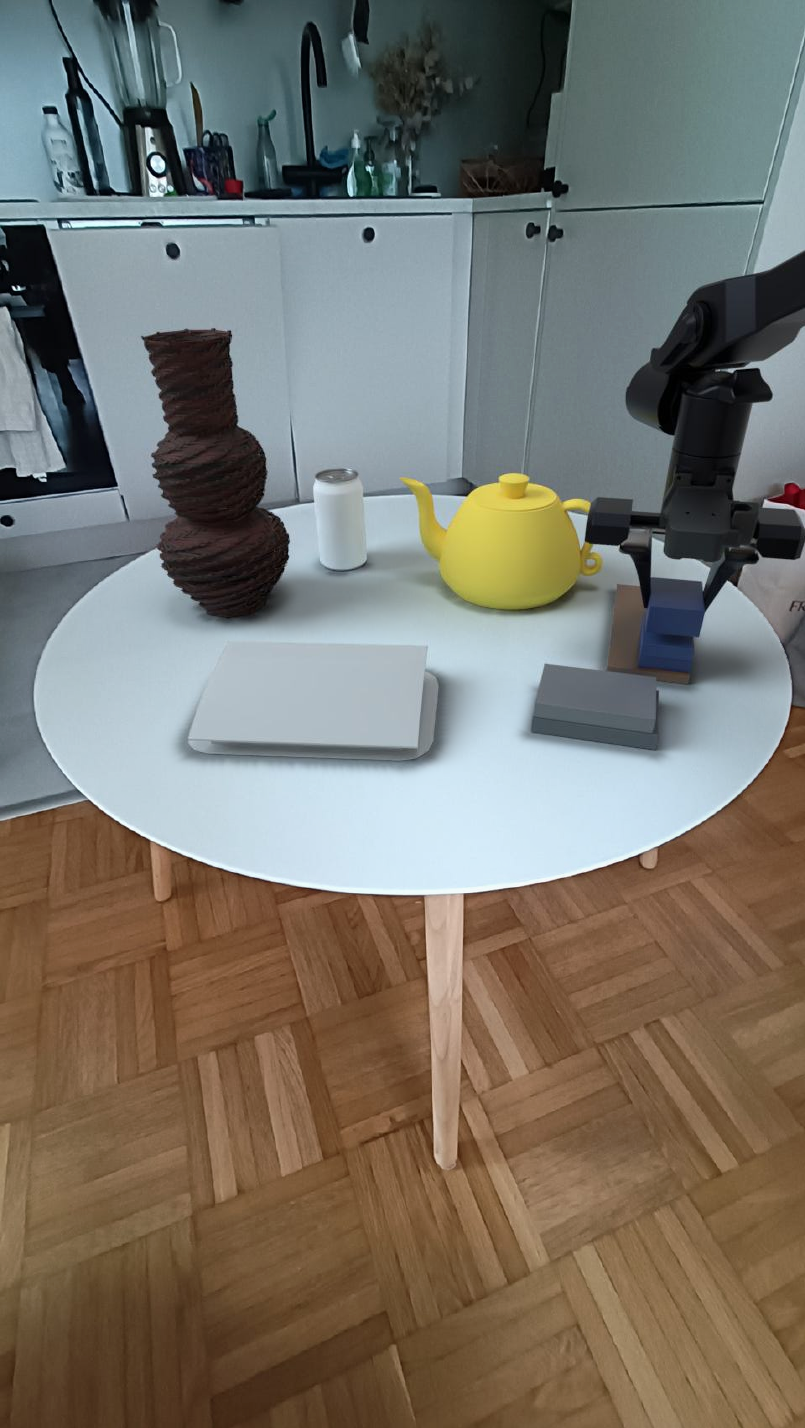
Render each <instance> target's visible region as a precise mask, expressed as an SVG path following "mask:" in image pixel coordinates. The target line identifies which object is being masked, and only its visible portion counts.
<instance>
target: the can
mask: <svg viewBox="0 0 805 1428" xmlns="http://www.w3.org/2000/svg"><path fill="white" fill-rule="evenodd" d="M314 478H315V481H314V483H313V487H312V493H313V501H314V502H313V505H314V513H315V524H316V535H317V543H318V551H319V552H318V553H319V561H320V563H321V565H323V567H324V568H326V569H328V570H331V571H336V572H344V571H346V572H347V571H353V570H356V569H359V568H360V567H362V566H363V565H364V564H365V563H366V562H367V559H368V551H367V550H368V549H367V534H366V517H365V502H364V489H363V484H362V482H361V479H360V478H359V472H358V471H357V470H355V469H351V468H345V467H333V468H327V469H323V470H320V471H318V472H316V473H315V474H314Z"/></svg>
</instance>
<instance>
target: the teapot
mask: <svg viewBox="0 0 805 1428" xmlns="http://www.w3.org/2000/svg"><path fill="white" fill-rule="evenodd" d="M399 480H400V481H401V482H402V483H403V484H404V485H405V486H406V487H408V489H409V490H411V492H412V493H413V496H414V497H415V500H416V503H417V509H418V526H419V528H418V529H419V534H420V539H421V543H422V545H423V548H424V549H425V551H426V552H427V553H428V554H429V556H430V557H432V558H433V559H434V560H435V561H436V562H438V572H439V573H440V576H441V578H442V580H443V581H444V582H445V584H446V585H447V586H448V587H449V588H450V589H451V590H452V591H453V592H454V594H455V595H457V596H458V597H460V599H462V600H463V601H466V602H469V603H470V604H473V605H476V606H479V607H484V608H489V609H494V610H495V609H496V610H511V611H512V610H514V611H515V610H528V609H534V608H538V607H543V606H545V605H549V604H551V603H553V602H555V601H556V600H558V599H559V598H560V597H562V596H563V595H564V594H565V593H567V592H568V591H569V590H570V589H571V588H572V587H573V586H574V585H576V582H577V581H578V579H579V577H580V575H582V576H585V577H592V576H594V575H597V574H598V573H600V571H601V570H602V568H603V563H604V561H603V557H602V555H601V554H600V553H598V552H595V551H592V548H593V546H594V544H589V543H587V542H585V541H584V542H583V545H582V546H581V544H580V540H579V536H578V533H577V530H576V527H575V525H574V522H573V520H572V518H571V517H570V515H569V512H568V511H575V510H576V511H582V512H585V513H587V514H588V513H589V509H590V505H591V503H592V502H590V501H588V500H586V499H582V498H572V499H568V500H565V501H563V502H562V500H561V498H560V496H559V495H558V494H557V493H556V492H555V491H553V489H551V488H549V487H547V486H544V485H540V484H536V483H531V482H530V477H529V476H528V475H526V474H524V473H517V472H512V473H505V474H502V475H500V476H499V477H498V482H493V483H489V484H484V485H481V486H479V487H477V488H474V489H473V490H472V491H471V492H470V493H468V495H467V496H466V498H465V499H464V500H463V502H462V504H461V505H460V507H459V508H458V509H457V511H456V513H455V514H454V516H453V518H452V519H451V521H450V523H449V525H448V527H447V529H446V528H444V527H443V526H442V525H441V524H440V523H439V522H438V520H437V518H436V515H435V505H434V499H433V495H432V492H431V490H430V489H429V487H428V486H427V485H426V484H424V483H422V482H420V481H419V480H416V479H412V478H408V477H402V476H401V477H399ZM588 560H593V561H594V562H595V563H594V564H593V565H588V564H587V561H588Z"/></svg>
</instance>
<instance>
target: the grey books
mask: <svg viewBox="0 0 805 1428" xmlns="http://www.w3.org/2000/svg"><path fill="white" fill-rule="evenodd" d="M659 712H660V690H659V689H657V680H656V677H650V676H642V675H634V674H626V673H618V672H609V671H606V670H600V669H593V668H592V669H591V668H584V667H576V666H568V665H561V664H560V665H559V664H553V663H552V664H551V663H544V665H543V669H542V673H541V677H540V681H539V685H538V688H537V692H536V696H535V700H534V707H533V712H532V717H531V725H530V732H531V733H535V734H544V735H551V736H556V737H564V738H569V739H570V738H571V739H578V740H584V741H585V740H586V741H591V742H598V743H605V744H611V745H617V746H618V745H619V746H624V747H631V748H632V747H633V748H638V749H647V750H654V751H656V750H657V745H658V741H659V733H660V731H659V727H660V726H659V725H660V724H659V723H660V713H659Z"/></svg>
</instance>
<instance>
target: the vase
mask: <svg viewBox="0 0 805 1428" xmlns="http://www.w3.org/2000/svg"><path fill="white" fill-rule="evenodd" d="M140 339H141V340H142V341H143V346H144V348H145V350H146V351H147V353H148V360H149V362H150V364H151V365H152V366H153V368H152V370H151V371H150V373H151V375H152V376H153V377H154V378H155V380H154V382H155V385H156V387H157V388H158V389H159V390H160V391H159V393H158V395H157V396H158V399H159V400H160V401H161V409H162V411H163V413H164V415H162V418H163V421H164V422H165V423H166V424H167V425H168V426H167V432H166V433H165V435H164V438H163V439H162V440H159V441H158V442H157V443H156V447H157V449H156V450H155V451H154V452H152V453H151V454H150V458H153V460H154V461H153V462H151V467H152V468H153V469H155V470H156V471H155V473H152V478H153V479H155V480H157V481H158V482H159V484H158V485H157V488H159V489H160V490H161V491H162V493H161V494H160V497H161V498H162V499H164V500H166V501H168V502H169V504H168V503H167V506H168V507H169V508H170V509H172V510H174V511H175V512H174V515H175V516H177V517H176V518H175V519H173V520H171V521H168V522H167V523H165V524H164V529H165V531H164V532H161V533H160V534H159V539H160V542H158V544H156V549H157V550H158V551H159V552H160V553H159V559H160V560H161V561H162V562H161V566H160V567H161V568H162V569H163V570H164V571H166V576H167V577H168V578H170V579H171V580H172V584H173V586H174V587H176V588H179V589H180V591H181V592H182V593H183V594H185V595H189V596H190V597H189V598H190V599H191V600H192V601H194V602H198V606H200V607H201V608H203V609H204V611H205V613H206V615H210V616H216V617H222V618H226V619H229V618H232V617H239V616H244V615H245V616H246V615H251V614H253V612H256V611H257V610H259V609H260V608H262V607H263V606H266V605H267V600H268V597H269V596H270V594H271V593H272V591H273V590H274V587H276V585H277V584H278V582H279V581H280V579H282V577H283V575H284V574H283V573H284V572H285V570H286V566H287V565H288V561H289V559H290V555H289V552H290V544H291V538H290V534H289V532H287V529H286V527H285V523H284V521H283V520H282V518H281V517H280V516H278V515H276V514H275V513H274V512H273V511H271V510H267V509H266V508H263V507H258V506H259V504H260V503H261V502H262V500H263V499H264V497H265V492H266V483H267V481H266V480H267V479H268V470H267V457H266V453H265V451H264V448H263V447H262V445H261V444H260V441H259V440H258V439H257V436H255V435H254V434H253V433H252V432H250V431H248V430H247V429H245V428H242V427H240V426H239V425H238V424H239V415H238V405H237V398H236V394H235V393H234V388H235V386H234V379H233V367H234V362H233V358H232V357H231V355H230V354H231V353H230V352H231V347H230V344H231V343H232V339H233V334H232V330H231V329H228V330H227V331H226V330H221V329H220V330H219V329H216V328H215V327H212V328H210V329H189V328H183V329H182V330H172V331H163V332H160V331H156V332H155V333H153V334H150V335H146V336H144V335H141V336H140Z"/></svg>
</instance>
